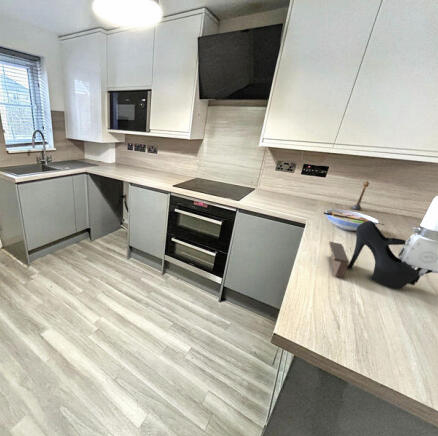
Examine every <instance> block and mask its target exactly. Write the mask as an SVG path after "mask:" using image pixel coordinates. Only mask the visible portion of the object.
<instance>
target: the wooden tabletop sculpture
mask: <svg viewBox="0 0 438 436" xmlns="http://www.w3.org/2000/svg"><path fill="white" fill-rule="evenodd" d="M362 185H363V188H362V190H361V193H360V194H359V198H358V200H357V201H356V203H355V204H354V205H352V207H351V210H354V211H361V210H362V206H361V203H362V200H363V198H364V197H363V196H364V194H365V192H366V189H367V187H369V185H370V182H369V181H367V180H366V181H364V182H363V184H362Z"/></svg>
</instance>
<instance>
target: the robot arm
mask: <svg viewBox="0 0 438 436" xmlns="http://www.w3.org/2000/svg"><path fill="white" fill-rule="evenodd" d="M411 231H412V232H414V233H412V234H411V235H410V237H408V238H407V240H405V241H406V242H405V245H402V247H401V248H400V249H399V252H398V255H397V258H399V259H400V260H401V261H402V262H403V261H404V262H406V263H407V264H408V265H410V266H411V267H412V268H414V269H415V270H416V271H418V273H419V276H418V277H417V278H416V279H414V280H413V281H411V282H410V283H408V284H407V285H411V286H415V284H416V283H418V282H419V280H420V278H421V277H423V276H424V275H427V274H431V273H433V274H438V195H436V196H435V197H434V198H433V199H432V201H431V203H430V205H429V207H428V208H427V211H426V213H425V215H424V217H423V219H422V221H421V223H420V225H418V226H417V227H416V226H412V228H411ZM396 262H398V261H396Z"/></svg>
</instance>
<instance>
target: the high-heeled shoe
mask: <svg viewBox="0 0 438 436" xmlns="http://www.w3.org/2000/svg"><path fill="white" fill-rule="evenodd" d="M355 235H356V236H355V237H356V239H355V247H354V251H353V254H352V257H351V259H350V260H349V263H348V265H347V269H350V270H352V269H353V267H354V265H355V263H356V261H357V259H358V258H359V256H360V254H361V252H362V250H363V248H364V246H366V247H367V248H368V249H369V250H370V252H371V254H372V255H373V259H374V268H373V271H372V275H371V276H370V279H371V281H373V282H374V283H377V284H378V285H381V286H383V287H386V288H391V289H395V290H399V289H403V288H404V287H406V286H407V285H409V284H408V283H410V282H411V281H413V280H414V279H416V278H417V277H418V276H419V273H418V271H416V268H415V269H414V268H412V267H411V266H410V265H408V264H407V263H406V262H404V261H403V262H402V261H401V260H400V259H399V258H398V256H396V255H395V254H394V253H393V251H392V250H391V248H390V246H404V245H405V243H406V241H407V240H405V239H403V238H397V237H386V236H385V235H384V234H383V233H382V232H381V231H380V229H379V227H378V226H377V225H375V224H374V223H373V222H372V221H366V222H364V223H362V224H360V225H359V226H358V227H357V229H356V230H355ZM396 261H398V262H396Z"/></svg>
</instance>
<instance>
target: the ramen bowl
mask: <svg viewBox="0 0 438 436" xmlns="http://www.w3.org/2000/svg"><path fill="white" fill-rule="evenodd" d="M323 215H325V216H326V217H327V219H328V220H329V222H330V223H331V224H332V225H335V226H336V227H338V228H339V229H341V230H344V231H350V232H354V231H355V232H356V229H357V227H358V226H359V225H360V224H362V223H364V222H366V221H372V222H373V223H374V224H375V225H376V226H377V225H381V226H382V225H383V226H386V225H385V223H380V222H379V220H378V219H377V218H375V217H373V216H369V215H367V214H364V213H360V212H356V211H352V210H347V209H339V208H329V209H326V210H325V211H324V212H323Z"/></svg>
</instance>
